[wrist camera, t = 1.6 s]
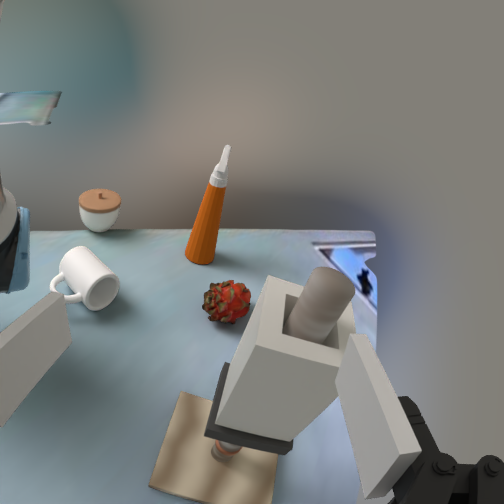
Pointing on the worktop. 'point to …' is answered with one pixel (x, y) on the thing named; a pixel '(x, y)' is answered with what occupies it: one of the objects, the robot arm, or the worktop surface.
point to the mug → (86, 279)
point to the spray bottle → (209, 215)
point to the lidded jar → (99, 209)
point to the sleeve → (281, 369)
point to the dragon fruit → (227, 301)
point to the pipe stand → (229, 455)
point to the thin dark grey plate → (237, 435)
